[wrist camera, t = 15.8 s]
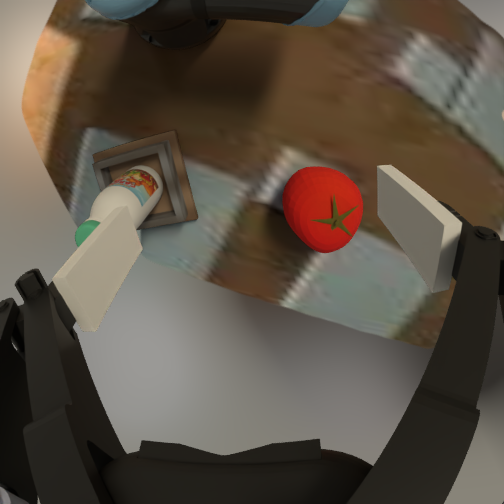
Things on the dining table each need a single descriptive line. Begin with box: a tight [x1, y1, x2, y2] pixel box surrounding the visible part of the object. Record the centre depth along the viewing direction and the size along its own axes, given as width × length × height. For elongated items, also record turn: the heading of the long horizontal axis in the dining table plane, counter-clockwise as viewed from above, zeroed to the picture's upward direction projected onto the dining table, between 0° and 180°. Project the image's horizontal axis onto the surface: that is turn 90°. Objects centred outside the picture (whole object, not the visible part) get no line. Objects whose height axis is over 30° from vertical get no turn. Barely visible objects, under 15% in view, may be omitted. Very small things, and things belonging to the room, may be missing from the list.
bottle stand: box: [92, 130, 198, 230], centre depth 49 cm, size 16×16×4 cm
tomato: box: [282, 167, 363, 253], centre depth 46 cm, size 12×14×11 cm
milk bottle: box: [75, 165, 163, 247], centre depth 41 cm, size 8×8×20 cm
